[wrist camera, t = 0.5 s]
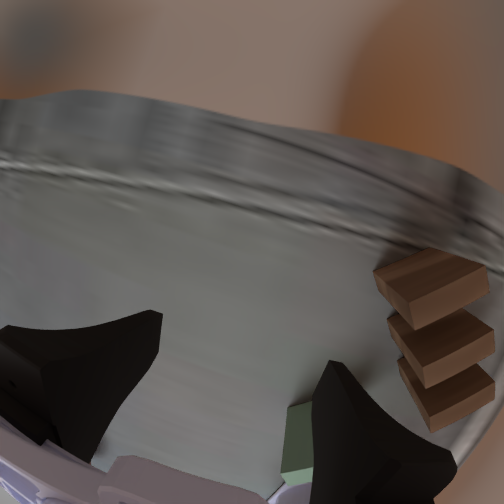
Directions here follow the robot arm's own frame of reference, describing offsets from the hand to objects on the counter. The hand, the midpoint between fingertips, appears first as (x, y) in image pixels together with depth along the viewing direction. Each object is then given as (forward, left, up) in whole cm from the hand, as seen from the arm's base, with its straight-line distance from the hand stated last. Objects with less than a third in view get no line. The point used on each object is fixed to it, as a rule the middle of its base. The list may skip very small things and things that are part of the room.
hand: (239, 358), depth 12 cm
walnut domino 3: (0, -14, -11) cm, 18 cm away
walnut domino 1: (+6, -9, -11) cm, 15 cm away
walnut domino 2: (+3, -12, -11) cm, 16 cm away
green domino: (-8, -8, -11) cm, 15 cm away
